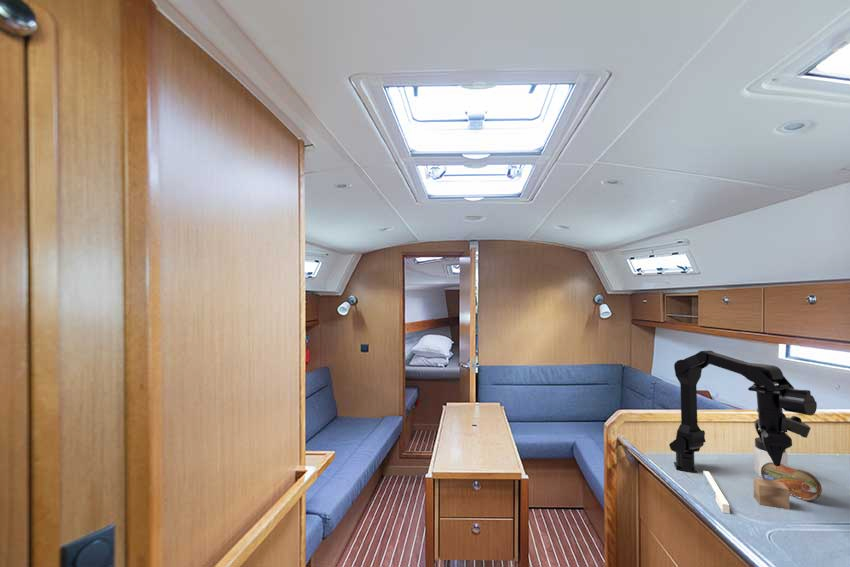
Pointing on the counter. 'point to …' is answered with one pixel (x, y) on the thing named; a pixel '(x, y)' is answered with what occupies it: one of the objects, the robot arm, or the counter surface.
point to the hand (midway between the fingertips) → (774, 461)
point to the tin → (793, 480)
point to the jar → (764, 456)
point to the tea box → (771, 493)
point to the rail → (716, 492)
